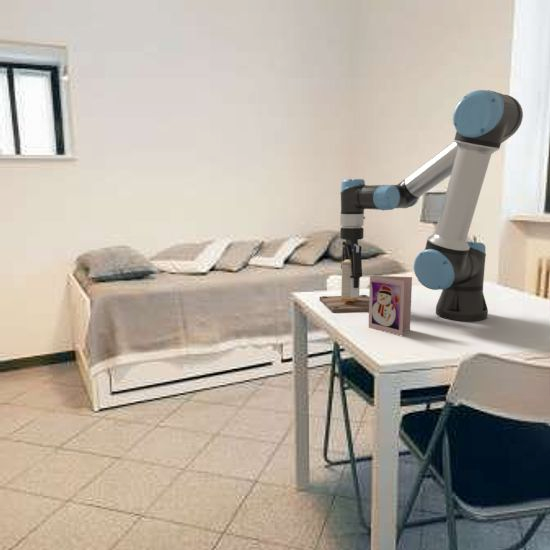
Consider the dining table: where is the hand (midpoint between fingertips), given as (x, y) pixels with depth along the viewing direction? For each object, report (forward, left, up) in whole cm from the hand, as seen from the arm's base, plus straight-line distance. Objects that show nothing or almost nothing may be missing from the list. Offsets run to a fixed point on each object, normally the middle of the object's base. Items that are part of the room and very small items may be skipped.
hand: (350, 294), depth 177 cm
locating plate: (0, 0, -4) cm, 4 cm away
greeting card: (-30, -3, -4) cm, 31 cm away
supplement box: (0, 0, -2) cm, 2 cm away
